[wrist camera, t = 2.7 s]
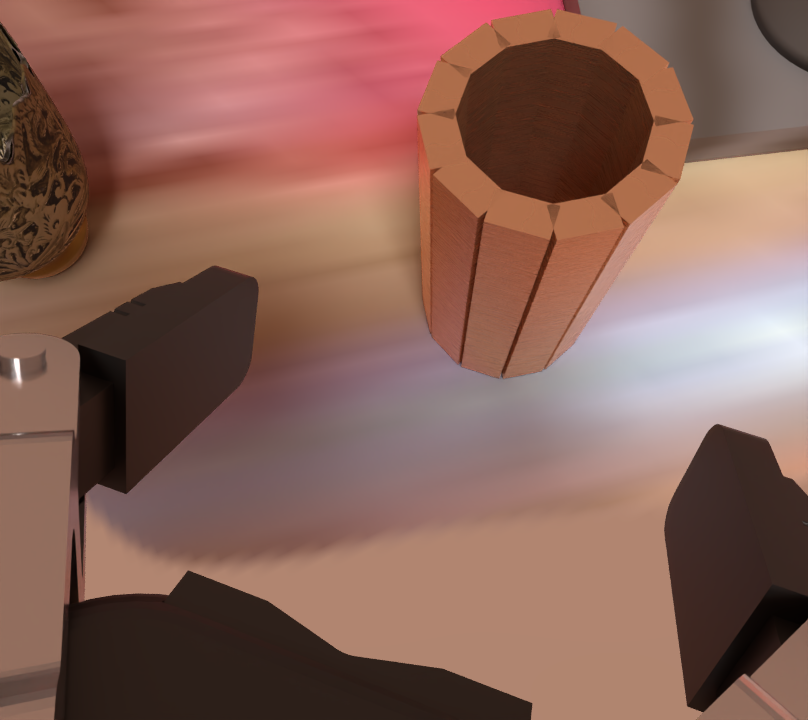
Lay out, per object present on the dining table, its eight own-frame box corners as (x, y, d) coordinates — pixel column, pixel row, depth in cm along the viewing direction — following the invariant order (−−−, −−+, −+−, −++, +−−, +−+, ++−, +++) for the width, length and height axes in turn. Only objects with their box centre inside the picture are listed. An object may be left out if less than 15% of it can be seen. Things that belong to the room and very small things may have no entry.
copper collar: (403, 348, 23) (383, 192, 13) (452, 214, 24) (466, -12, 15) (559, 397, 22) (657, 270, 12) (599, 255, 24) (713, 46, 14)
